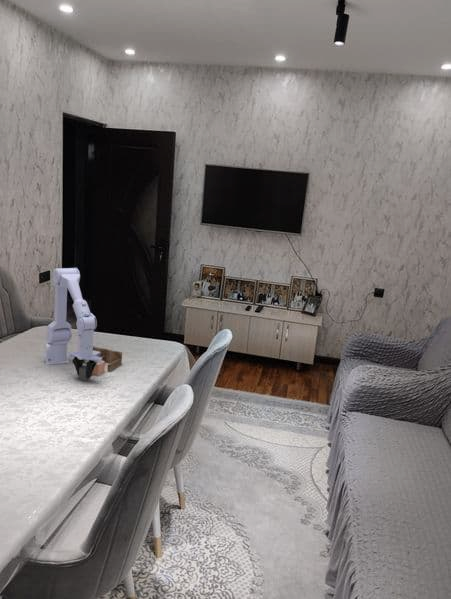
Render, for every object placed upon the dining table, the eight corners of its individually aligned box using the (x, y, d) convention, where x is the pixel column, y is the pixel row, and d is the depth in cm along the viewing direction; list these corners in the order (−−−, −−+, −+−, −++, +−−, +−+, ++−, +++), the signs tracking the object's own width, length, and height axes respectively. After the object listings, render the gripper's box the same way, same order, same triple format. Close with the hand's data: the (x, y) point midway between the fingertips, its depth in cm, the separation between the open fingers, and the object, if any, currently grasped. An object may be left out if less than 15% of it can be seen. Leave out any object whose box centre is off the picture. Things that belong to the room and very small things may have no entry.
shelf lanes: (77, 364, 207) (77, 351, 205) (89, 357, 216) (90, 345, 215) (109, 371, 202) (110, 358, 201) (121, 364, 212) (122, 352, 211)
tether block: (76, 379, 191) (77, 367, 189) (94, 369, 203) (94, 357, 202) (87, 382, 189) (87, 369, 188) (104, 372, 201) (105, 360, 200)
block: (84, 363, 209) (85, 353, 208) (90, 360, 214) (91, 349, 213) (94, 365, 208) (94, 355, 207) (100, 362, 212) (100, 351, 211)
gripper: (64, 344, 186) (63, 375, 189) (95, 350, 182) (94, 382, 185) (74, 339, 193) (73, 370, 196) (105, 346, 189) (103, 377, 192)
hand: (84, 376), depth 191 cm, fingers open, 4 cm apart
